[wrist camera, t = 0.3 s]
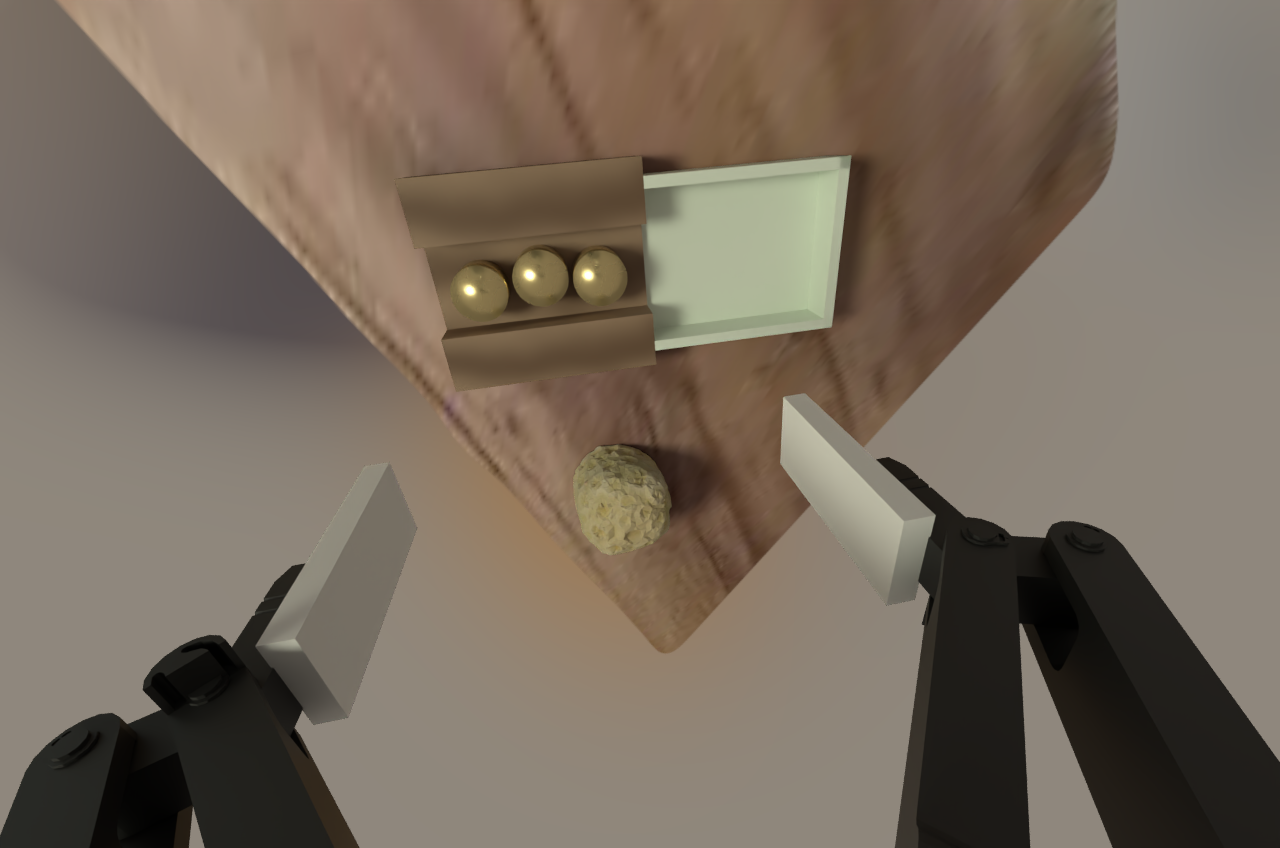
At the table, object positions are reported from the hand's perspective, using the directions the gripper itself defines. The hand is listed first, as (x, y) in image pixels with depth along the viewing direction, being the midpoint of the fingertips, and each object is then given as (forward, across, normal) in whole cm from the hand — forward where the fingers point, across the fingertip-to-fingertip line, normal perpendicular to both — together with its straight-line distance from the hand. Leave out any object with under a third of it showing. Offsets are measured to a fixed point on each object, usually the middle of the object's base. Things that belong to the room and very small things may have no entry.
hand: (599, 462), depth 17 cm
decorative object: (+27, +1, -20) cm, 33 cm away
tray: (+26, +13, +1) cm, 30 cm away
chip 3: (+25, +2, +1) cm, 26 cm away
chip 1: (+25, -7, +1) cm, 26 cm away
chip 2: (+25, -2, +2) cm, 26 cm away
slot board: (+26, -2, +1) cm, 27 cm away
